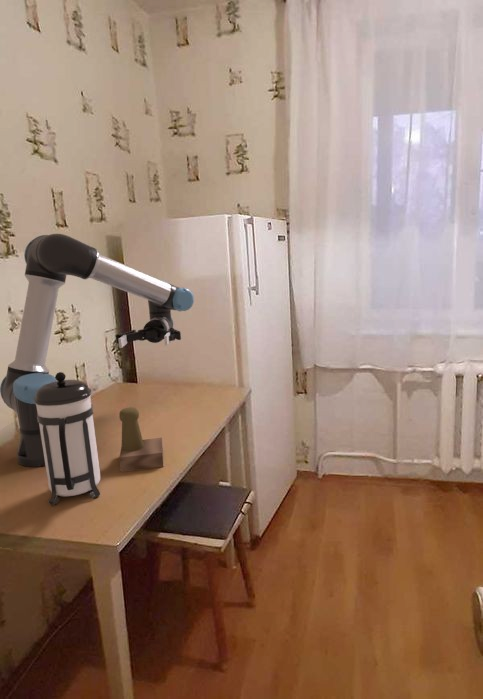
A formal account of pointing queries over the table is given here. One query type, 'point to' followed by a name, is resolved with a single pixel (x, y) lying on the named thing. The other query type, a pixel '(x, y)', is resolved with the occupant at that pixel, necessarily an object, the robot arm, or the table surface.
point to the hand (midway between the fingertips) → (142, 342)
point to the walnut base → (143, 456)
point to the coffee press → (68, 438)
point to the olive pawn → (130, 430)
